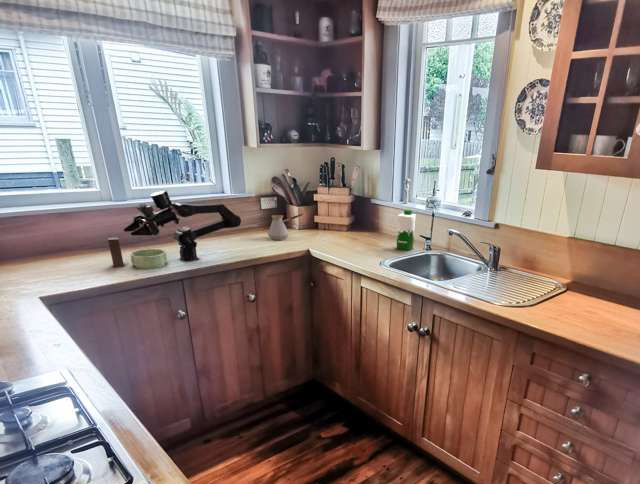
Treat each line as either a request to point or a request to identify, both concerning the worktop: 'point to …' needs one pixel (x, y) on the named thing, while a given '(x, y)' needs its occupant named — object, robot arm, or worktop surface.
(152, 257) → the bowl
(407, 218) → the milk carton
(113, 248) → the brown wooden block
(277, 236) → the coffee pot
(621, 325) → the worktop surface
